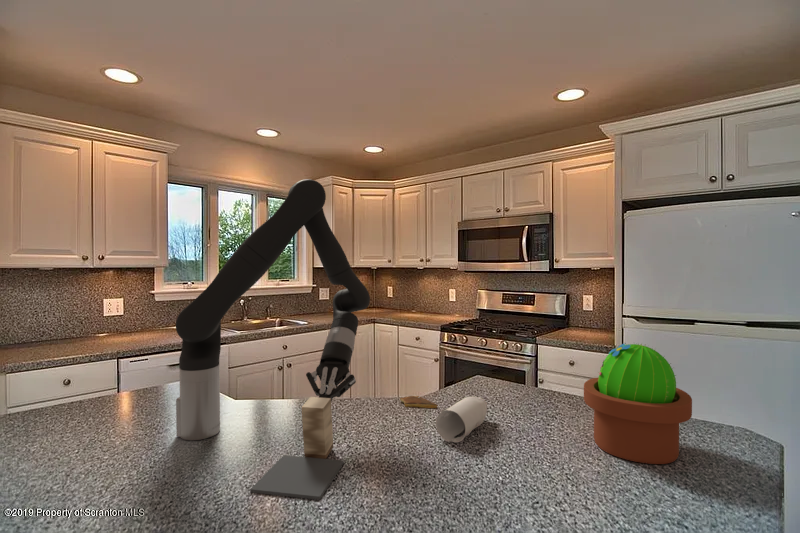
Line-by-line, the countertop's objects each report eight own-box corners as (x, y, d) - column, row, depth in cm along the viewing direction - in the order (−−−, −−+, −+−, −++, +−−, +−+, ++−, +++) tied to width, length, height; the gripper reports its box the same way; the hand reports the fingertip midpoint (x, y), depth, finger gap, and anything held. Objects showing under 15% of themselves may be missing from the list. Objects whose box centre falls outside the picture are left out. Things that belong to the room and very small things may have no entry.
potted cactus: (684, 438, 103) (685, 337, 102) (698, 480, 83) (700, 356, 83) (587, 422, 113) (587, 330, 112) (579, 456, 94) (580, 345, 93)
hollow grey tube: (495, 422, 114) (495, 393, 114) (464, 447, 98) (464, 414, 98) (468, 415, 118) (468, 387, 118) (435, 439, 103) (435, 407, 103)
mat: (250, 492, 80) (250, 489, 80) (283, 457, 93) (283, 455, 93) (319, 499, 77) (319, 496, 77) (343, 463, 91) (343, 460, 91)
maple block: (304, 457, 93) (301, 406, 92) (313, 445, 98) (310, 396, 97) (325, 459, 93) (323, 408, 91) (333, 446, 97) (330, 398, 96)
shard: (438, 409, 124) (438, 403, 124) (417, 415, 120) (417, 409, 120) (417, 399, 133) (416, 394, 133) (396, 404, 129) (396, 398, 129)
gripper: (310, 339, 108) (290, 402, 96) (360, 341, 105) (345, 406, 93) (318, 355, 113) (300, 417, 101) (365, 357, 111) (352, 420, 99)
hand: (322, 411), depth 97 cm, fingers closed
